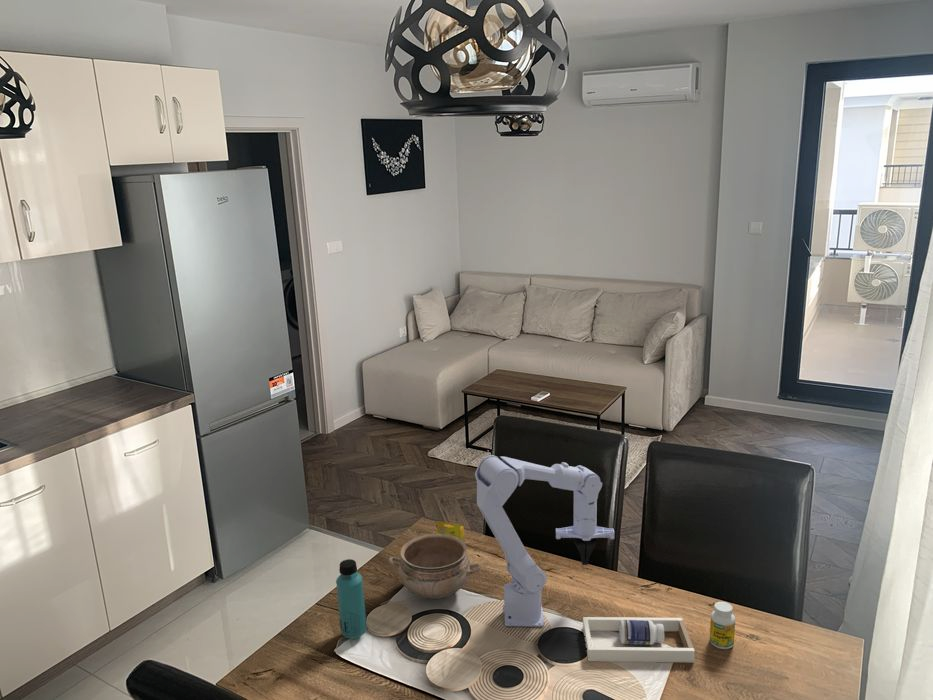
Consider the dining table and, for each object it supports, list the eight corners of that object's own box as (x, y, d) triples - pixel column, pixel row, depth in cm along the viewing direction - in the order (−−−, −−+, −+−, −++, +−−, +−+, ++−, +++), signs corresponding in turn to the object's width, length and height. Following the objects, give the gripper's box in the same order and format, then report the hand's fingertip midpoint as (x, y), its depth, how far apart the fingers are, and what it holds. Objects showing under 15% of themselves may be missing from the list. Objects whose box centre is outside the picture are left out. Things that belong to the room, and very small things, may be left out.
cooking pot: (488, 575, 195) (486, 535, 192) (475, 617, 177) (473, 573, 174) (401, 568, 200) (398, 529, 197) (380, 608, 182) (376, 565, 179)
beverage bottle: (372, 630, 173) (366, 557, 168) (359, 647, 167) (353, 572, 162) (348, 625, 175) (342, 553, 170) (335, 642, 169) (328, 567, 164)
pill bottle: (622, 645, 162) (665, 647, 161) (621, 620, 163) (664, 621, 162) (619, 642, 167) (661, 643, 166) (618, 618, 168) (660, 619, 167)
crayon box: (465, 556, 204) (464, 520, 202) (462, 562, 202) (460, 525, 199) (442, 552, 207) (440, 516, 204) (438, 557, 204) (436, 521, 202)
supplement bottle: (733, 637, 166) (735, 601, 164) (734, 652, 161) (736, 615, 159) (709, 633, 168) (711, 598, 165) (709, 648, 163) (711, 611, 160)
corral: (588, 661, 160) (588, 649, 159) (583, 627, 171) (583, 617, 170) (694, 662, 158) (694, 650, 157) (681, 628, 170) (682, 617, 169)
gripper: (557, 522, 173) (557, 571, 177) (616, 522, 172) (615, 571, 176) (555, 508, 180) (555, 556, 184) (612, 508, 179) (611, 556, 183)
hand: (584, 562), depth 180 cm, fingers closed
